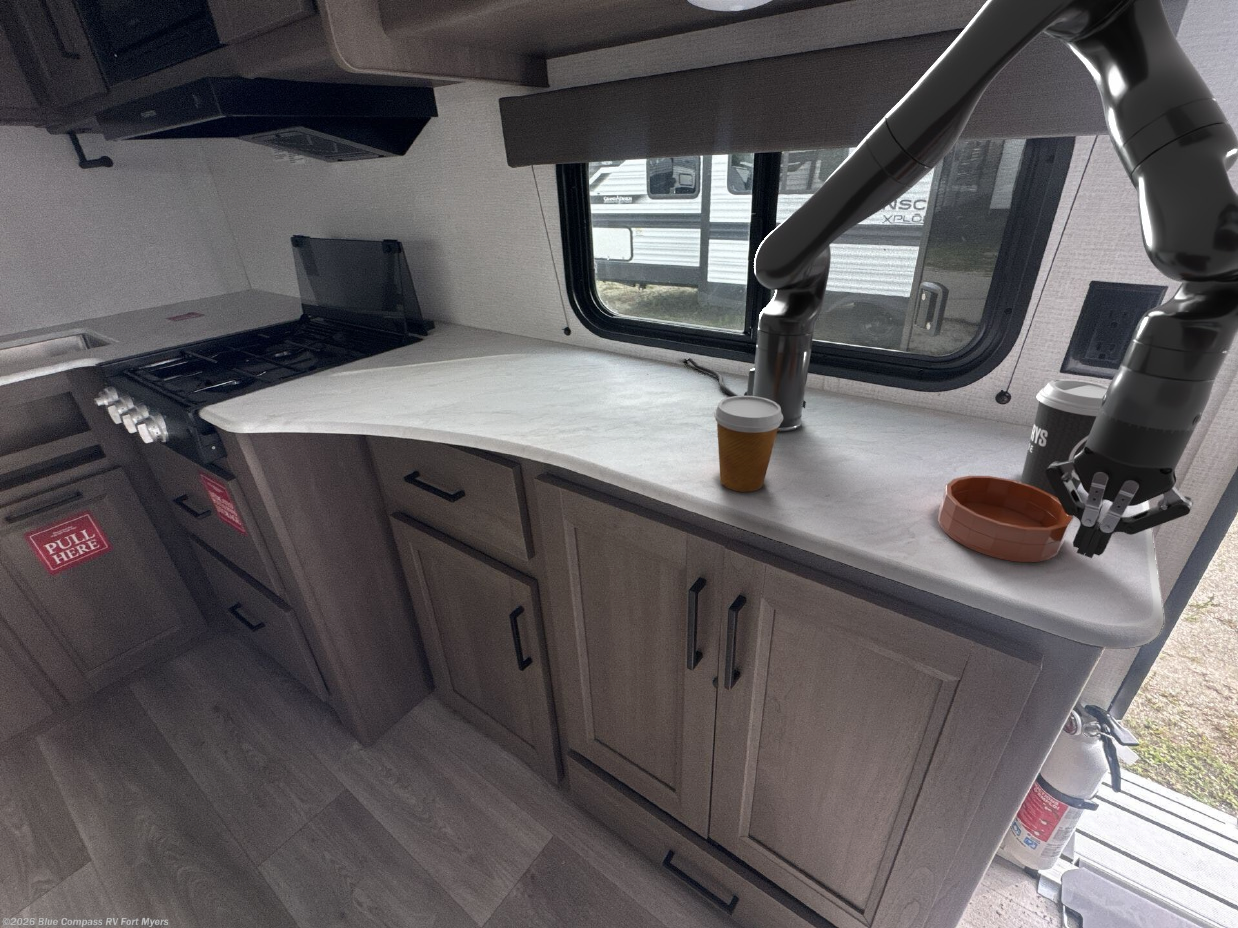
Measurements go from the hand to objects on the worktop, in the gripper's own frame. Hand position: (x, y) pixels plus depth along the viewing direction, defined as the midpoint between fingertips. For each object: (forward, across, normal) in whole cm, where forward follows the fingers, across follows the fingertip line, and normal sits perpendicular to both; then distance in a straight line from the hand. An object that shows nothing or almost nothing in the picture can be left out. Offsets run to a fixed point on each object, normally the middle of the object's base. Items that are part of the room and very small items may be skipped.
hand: (1085, 552), depth 65 cm
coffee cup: (+2, +8, -18) cm, 20 cm away
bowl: (+1, +9, 0) cm, 9 cm away
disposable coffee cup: (+2, +39, +13) cm, 41 cm away
